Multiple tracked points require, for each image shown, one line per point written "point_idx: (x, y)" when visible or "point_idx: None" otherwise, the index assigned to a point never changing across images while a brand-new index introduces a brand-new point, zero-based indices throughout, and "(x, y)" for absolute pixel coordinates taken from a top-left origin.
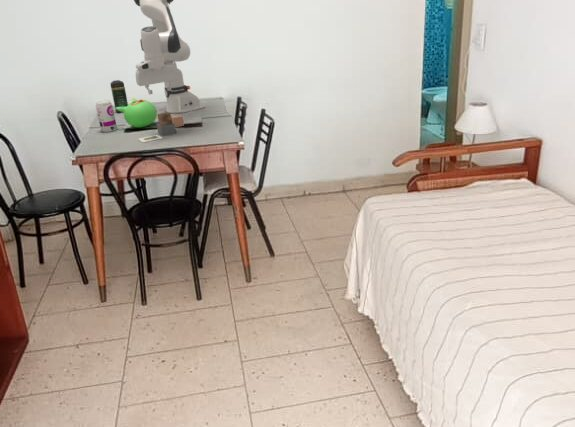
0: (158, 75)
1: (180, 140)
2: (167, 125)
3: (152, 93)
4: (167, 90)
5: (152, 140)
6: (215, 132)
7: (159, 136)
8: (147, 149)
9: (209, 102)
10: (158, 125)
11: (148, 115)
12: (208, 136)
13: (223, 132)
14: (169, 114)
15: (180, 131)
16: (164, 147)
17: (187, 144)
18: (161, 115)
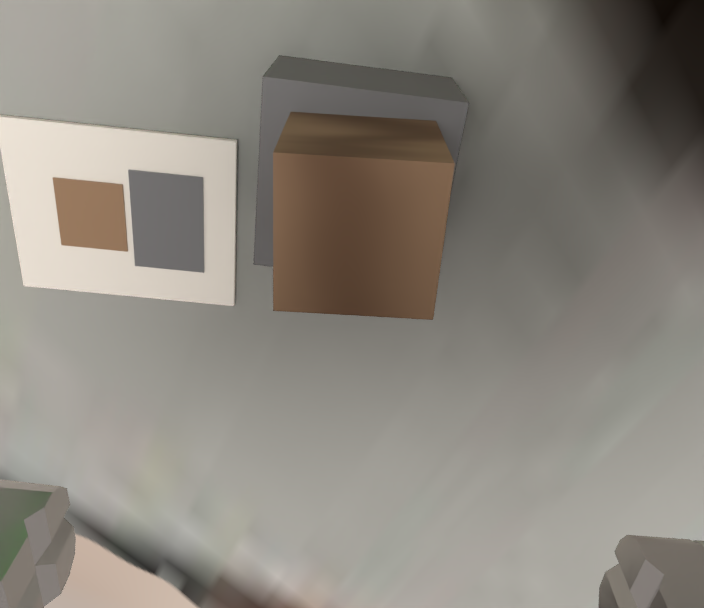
0: None
1: (323, 467)
2: None
3: (67, 563)
4: (625, 541)
5: (126, 292)
6: (643, 489)
7: (227, 232)
8: (26, 478)
9: None
10: (259, 162)
11: None
12: (529, 532)
13: (673, 531)
14: (410, 314)
15: (493, 208)
16: (152, 523)
17: (310, 574)
18: (281, 304)
